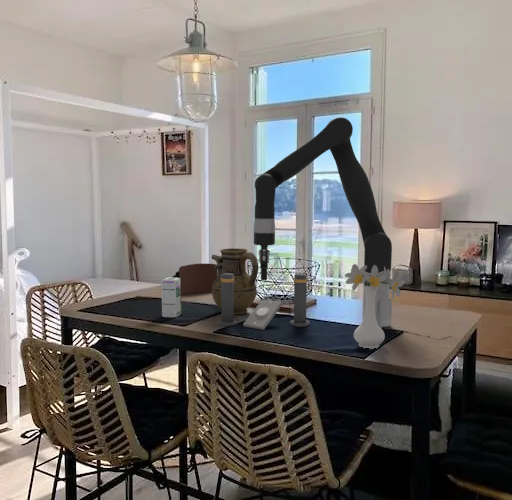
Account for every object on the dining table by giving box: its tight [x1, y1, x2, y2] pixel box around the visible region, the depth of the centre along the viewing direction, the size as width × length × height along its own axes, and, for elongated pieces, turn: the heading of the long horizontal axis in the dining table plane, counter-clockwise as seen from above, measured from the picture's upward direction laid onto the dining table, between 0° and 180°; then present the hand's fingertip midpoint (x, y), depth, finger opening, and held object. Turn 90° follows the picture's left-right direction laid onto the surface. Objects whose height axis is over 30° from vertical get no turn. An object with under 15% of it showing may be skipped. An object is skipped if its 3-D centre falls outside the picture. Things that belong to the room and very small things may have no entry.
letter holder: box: [172, 263, 218, 296], centre depth 257 cm, size 10×20×14 cm, turn 120°
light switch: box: [242, 299, 283, 331], centre depth 191 cm, size 8×6×14 cm
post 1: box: [217, 273, 238, 327], centre depth 191 cm, size 7×7×18 cm
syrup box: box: [160, 276, 182, 318], centre depth 204 cm, size 6×6×14 cm
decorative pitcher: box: [211, 247, 260, 315], centre depth 209 cm, size 22×18×25 cm
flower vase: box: [344, 263, 406, 350], centre depth 162 cm, size 13×18×25 cm
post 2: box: [289, 273, 311, 328], centre depth 190 cm, size 7×7×18 cm
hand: (263, 279), depth 190 cm, fingers closed
